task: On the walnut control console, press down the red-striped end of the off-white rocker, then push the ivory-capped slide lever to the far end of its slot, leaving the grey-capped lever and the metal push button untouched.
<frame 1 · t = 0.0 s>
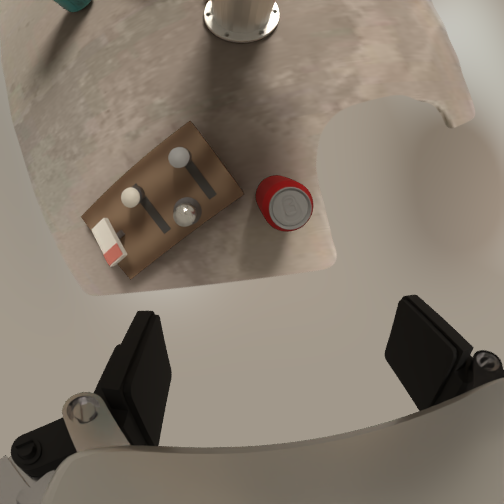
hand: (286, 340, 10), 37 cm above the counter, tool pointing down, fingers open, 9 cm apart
button: (185, 214, 40), point 5 cm above the counter, slide at 0.0 cm
lever ivory: (134, 195, 39), point 5 cm above the counter, slide at 0.0 cm
console: (159, 201, 44), on the counter
beverage bottle: (83, 3, 29), on the counter
rocker: (108, 241, 40), point 6 cm above the counter, hinge at -20.0°
beverage can: (275, 195, 46), on the counter
lever grey: (181, 157, 37), point 5 cm above the counter, slide at 0.0 cm
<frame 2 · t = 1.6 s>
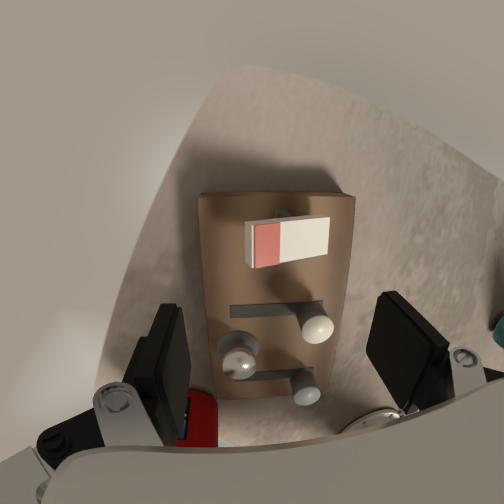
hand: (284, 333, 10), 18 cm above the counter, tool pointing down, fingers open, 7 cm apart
button: (238, 361, 26), point 5 cm above the counter, slide at 0.0 cm
lever ivory: (312, 319, 25), point 5 cm above the counter, slide at 0.0 cm
console: (273, 303, 30), on the counter
beverage bottle: (497, 321, 37), on the counter
rocker: (290, 239, 22), point 6 cm above the counter, hinge at -20.0°
beverage can: (194, 400, 35), on the counter
lever grey: (303, 385, 28), point 5 cm above the counter, slide at 0.0 cm
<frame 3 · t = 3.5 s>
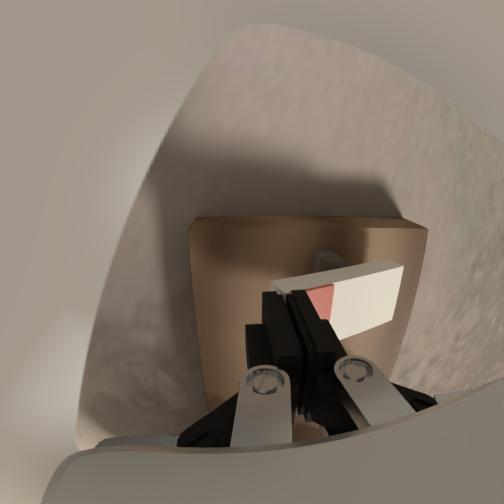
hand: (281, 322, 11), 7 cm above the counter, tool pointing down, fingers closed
console: (297, 367, 21), on the counter
rocker: (343, 305, 13), point 6 cm above the counter, hinge at -17.7°, touching gripper
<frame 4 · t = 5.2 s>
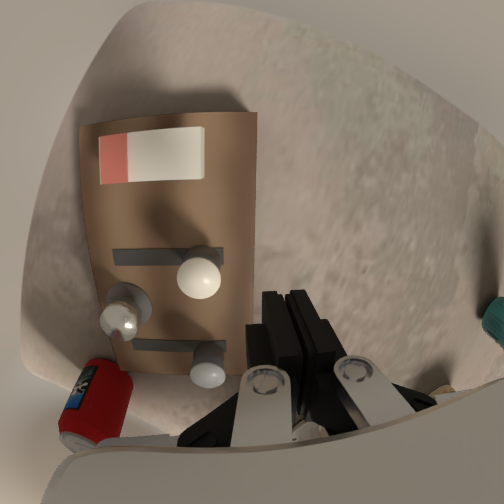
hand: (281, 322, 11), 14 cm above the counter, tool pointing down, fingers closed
button: (121, 318, 21), point 5 cm above the counter, slide at 0.0 cm
lever ivory: (200, 268, 20), point 5 cm above the counter, slide at 0.0 cm
console: (173, 255, 25), on the counter
beverage bottle: (487, 307, 32), on the counter
rocker: (148, 155, 16), point 6 cm above the counter, hinge at 6.0°
beverage can: (110, 373, 30), on the counter
lever grey: (208, 362, 23), point 5 cm above the counter, slide at 0.0 cm
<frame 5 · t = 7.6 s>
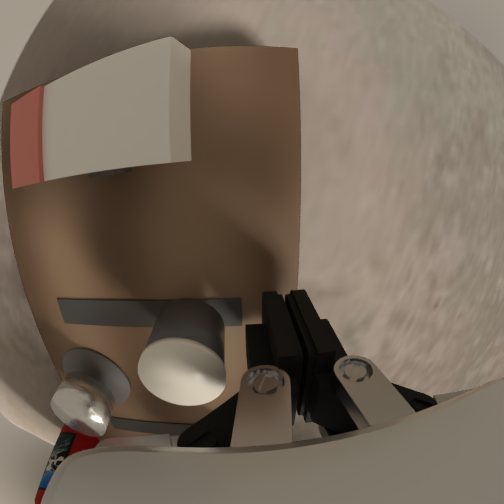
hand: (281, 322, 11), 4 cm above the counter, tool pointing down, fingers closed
button: (82, 404, 11), point 5 cm above the counter, slide at 0.0 cm
lever ivory: (187, 344, 10), point 5 cm above the counter, slide at 0.5 cm, touching gripper
console: (158, 300, 15), on the counter
rocker: (77, 123, 6), point 6 cm above the counter, hinge at 15.3°
beverage can: (95, 435, 20), on the counter
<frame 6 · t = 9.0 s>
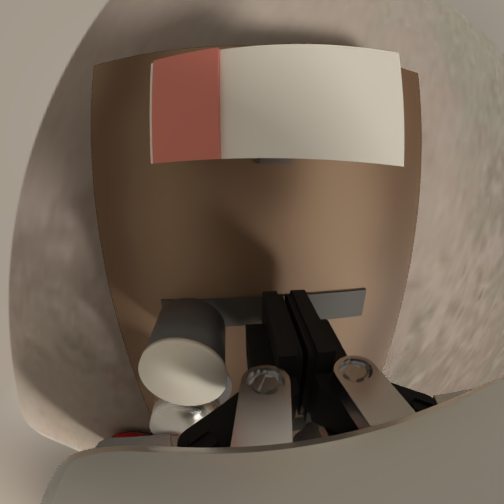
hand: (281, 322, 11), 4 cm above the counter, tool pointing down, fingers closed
button: (186, 416, 11), point 5 cm above the counter, slide at 0.0 cm
lever ivory: (187, 344, 10), point 5 cm above the counter, slide at 6.2 cm, touching gripper
console: (260, 297, 15), on the counter
rocker: (271, 101, 7), point 6 cm above the counter, hinge at 16.6°
lever grey: (318, 448, 13), point 5 cm above the counter, slide at 0.0 cm
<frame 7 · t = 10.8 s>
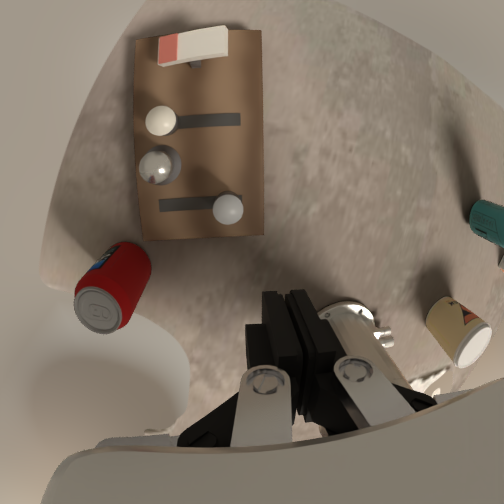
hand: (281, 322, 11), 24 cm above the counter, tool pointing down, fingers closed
button: (156, 166, 26), point 5 cm above the counter, slide at 0.0 cm
lever ivory: (164, 122, 25), point 5 cm above the counter, slide at 6.1 cm
console: (199, 131, 30), on the counter
beverage bottle: (472, 213, 38), on the counter
rocker: (191, 45, 21), point 6 cm above the counter, hinge at 17.2°
beverage can: (129, 263, 35), on the counter
coffee cup: (439, 312, 45), on the counter
lever grey: (227, 206, 28), point 5 cm above the counter, slide at 0.0 cm
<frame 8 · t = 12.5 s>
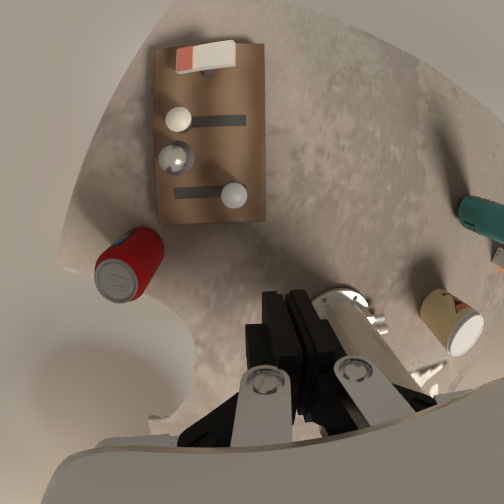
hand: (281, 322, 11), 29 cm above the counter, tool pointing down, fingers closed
button: (173, 158, 31), point 5 cm above the counter, slide at 0.0 cm
lever ivory: (181, 120, 29), point 5 cm above the counter, slide at 6.1 cm
console: (210, 131, 35), on the counter
skincare box: (498, 259, 46), on the counter
beverage bottle: (462, 209, 41), on the counter
rocker: (204, 56, 26), point 6 cm above the counter, hinge at 17.4°
beverage can: (144, 247, 40), on the counter
coffee cup: (433, 305, 48), on the counter
lever grey: (233, 193, 33), point 5 cm above the counter, slide at 0.0 cm
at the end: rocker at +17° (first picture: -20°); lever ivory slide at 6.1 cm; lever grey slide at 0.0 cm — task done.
